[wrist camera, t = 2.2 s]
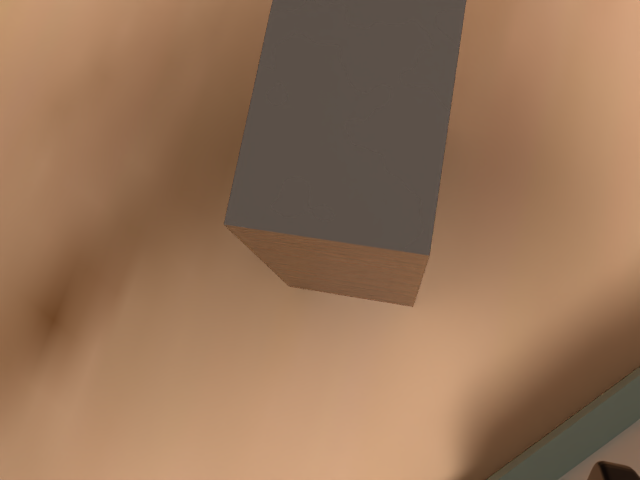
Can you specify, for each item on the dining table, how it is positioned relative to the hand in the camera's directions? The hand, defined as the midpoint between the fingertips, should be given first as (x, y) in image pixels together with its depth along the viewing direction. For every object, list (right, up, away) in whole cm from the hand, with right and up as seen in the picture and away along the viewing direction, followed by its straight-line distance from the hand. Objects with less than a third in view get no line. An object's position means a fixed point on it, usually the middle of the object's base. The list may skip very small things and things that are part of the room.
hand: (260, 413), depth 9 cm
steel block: (+3, +4, +14) cm, 15 cm away
